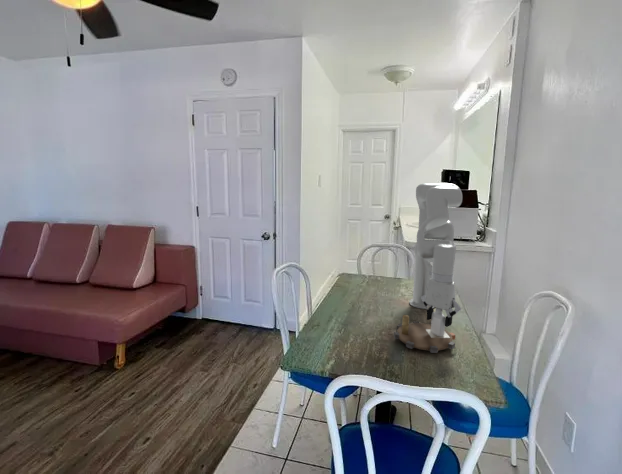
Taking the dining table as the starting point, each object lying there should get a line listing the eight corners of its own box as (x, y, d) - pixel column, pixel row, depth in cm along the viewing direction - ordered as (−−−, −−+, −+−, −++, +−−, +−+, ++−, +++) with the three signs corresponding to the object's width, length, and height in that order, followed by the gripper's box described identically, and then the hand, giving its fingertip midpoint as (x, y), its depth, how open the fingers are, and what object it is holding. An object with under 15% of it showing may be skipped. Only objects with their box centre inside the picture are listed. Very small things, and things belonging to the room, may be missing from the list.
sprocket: (401, 352, 124) (403, 329, 122) (388, 324, 146) (389, 305, 145) (466, 353, 124) (468, 329, 122) (443, 325, 146) (444, 305, 145)
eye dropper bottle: (432, 336, 132) (434, 306, 130) (429, 330, 137) (432, 300, 135) (444, 337, 131) (447, 306, 129) (441, 330, 137) (443, 301, 135)
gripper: (416, 273, 135) (413, 317, 138) (459, 285, 121) (454, 333, 124) (427, 270, 139) (424, 313, 142) (470, 281, 126) (465, 327, 129)
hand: (438, 322), depth 133 cm, fingers open, 7 cm apart
